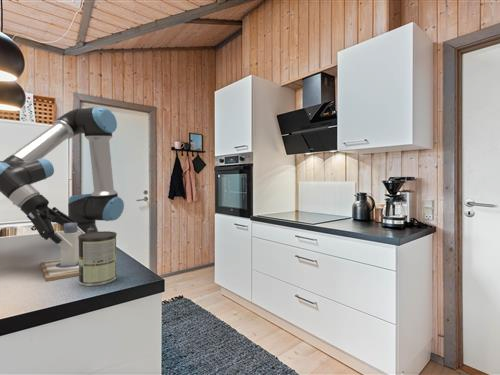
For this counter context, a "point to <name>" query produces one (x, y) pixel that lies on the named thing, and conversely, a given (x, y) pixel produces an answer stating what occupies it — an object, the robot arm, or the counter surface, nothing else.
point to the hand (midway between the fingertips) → (78, 244)
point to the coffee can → (97, 258)
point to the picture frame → (58, 270)
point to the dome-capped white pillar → (72, 237)
